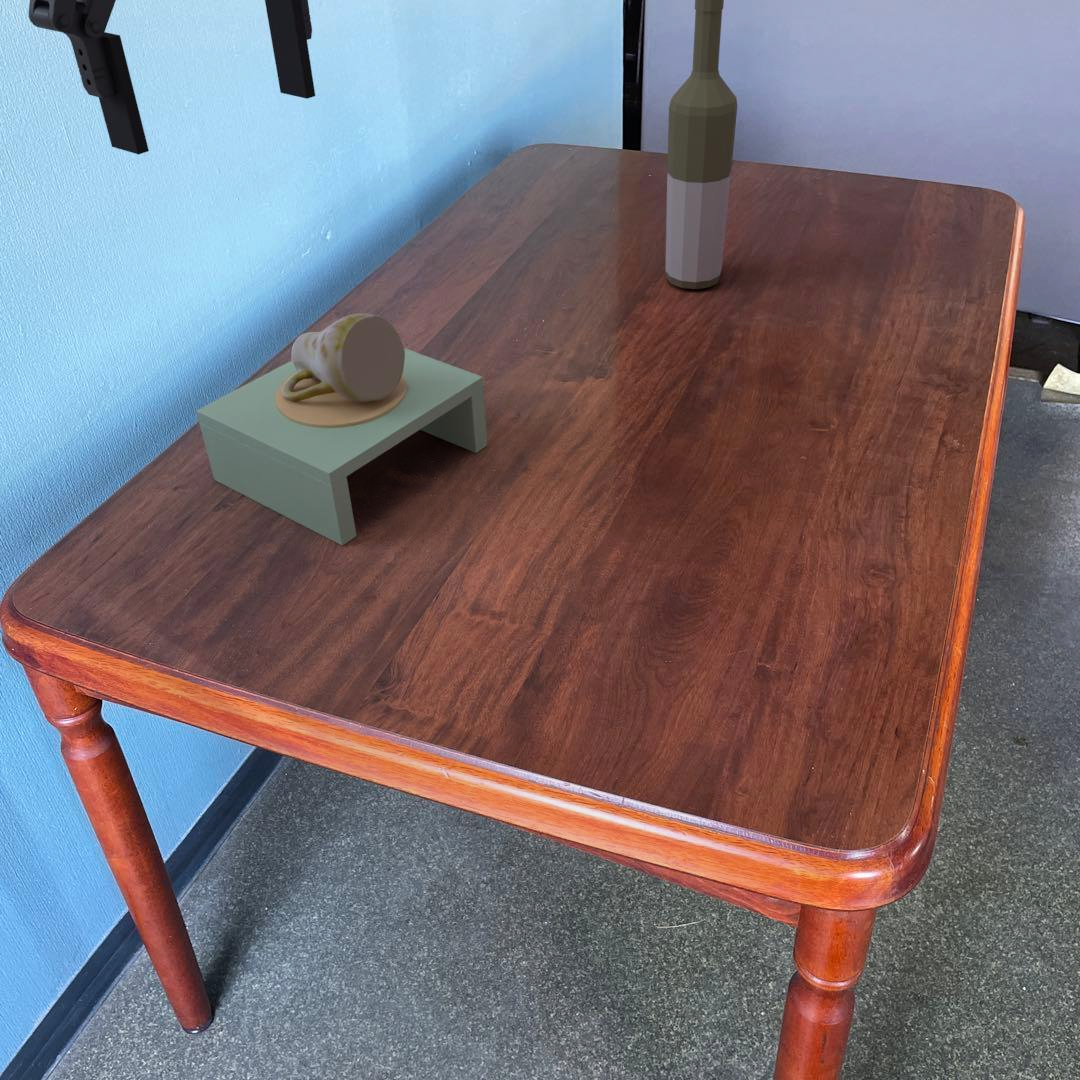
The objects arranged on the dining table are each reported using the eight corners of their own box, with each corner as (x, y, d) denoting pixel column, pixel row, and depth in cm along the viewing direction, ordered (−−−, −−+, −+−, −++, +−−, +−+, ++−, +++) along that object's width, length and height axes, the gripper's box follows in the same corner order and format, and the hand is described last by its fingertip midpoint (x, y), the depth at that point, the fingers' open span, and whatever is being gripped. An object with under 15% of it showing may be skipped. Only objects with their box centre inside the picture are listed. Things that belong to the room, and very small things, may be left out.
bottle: (727, 293, 120) (751, -3, 101) (664, 295, 120) (676, -1, 101) (720, 267, 125) (741, -18, 107) (659, 269, 125) (670, -16, 107)
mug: (325, 355, 96) (365, 268, 89) (388, 433, 93) (433, 350, 87) (256, 368, 90) (293, 276, 84) (320, 451, 88) (363, 363, 81)
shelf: (214, 479, 93) (195, 407, 89) (361, 394, 104) (351, 325, 100) (342, 546, 85) (328, 469, 81) (487, 445, 96) (482, 373, 92)
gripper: (-56, -291, 47) (84, 188, 60) (353, -302, 62) (394, 82, 75) (-137, -287, 51) (11, 164, 64) (267, -298, 66) (321, 68, 79)
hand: (219, 120), depth 70 cm, fingers open, 13 cm apart
